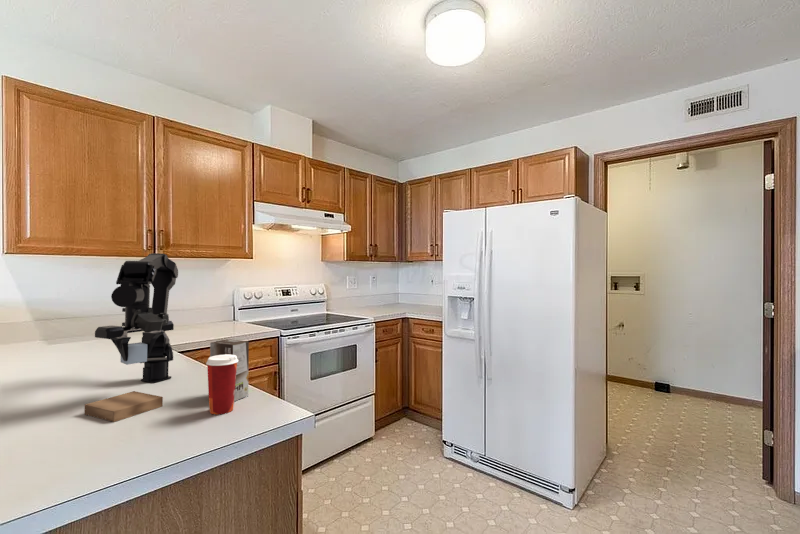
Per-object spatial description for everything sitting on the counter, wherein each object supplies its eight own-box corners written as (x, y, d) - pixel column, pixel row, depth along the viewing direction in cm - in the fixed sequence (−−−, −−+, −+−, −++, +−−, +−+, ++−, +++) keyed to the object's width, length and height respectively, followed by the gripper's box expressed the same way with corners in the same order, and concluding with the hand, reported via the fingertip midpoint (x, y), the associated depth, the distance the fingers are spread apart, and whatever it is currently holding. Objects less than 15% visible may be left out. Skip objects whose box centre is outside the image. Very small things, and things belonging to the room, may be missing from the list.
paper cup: (243, 407, 101) (244, 355, 101) (221, 418, 94) (222, 361, 94) (220, 404, 104) (221, 353, 104) (197, 413, 96) (198, 358, 97)
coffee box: (249, 395, 111) (250, 340, 111) (232, 402, 105) (233, 344, 105) (226, 391, 114) (226, 338, 115) (208, 398, 109) (209, 342, 109)
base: (133, 400, 106) (133, 391, 106) (162, 406, 102) (162, 396, 102) (84, 414, 95) (84, 404, 95) (114, 422, 91) (114, 411, 91)
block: (140, 359, 113) (140, 342, 113) (147, 361, 110) (147, 344, 110) (120, 362, 109) (120, 344, 109) (126, 364, 106) (127, 346, 106)
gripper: (120, 307, 97) (119, 369, 97) (186, 303, 114) (185, 355, 114) (94, 306, 101) (92, 364, 101) (161, 302, 119) (160, 352, 118)
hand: (136, 358), depth 108 cm, fingers closed on block, 5 cm apart
